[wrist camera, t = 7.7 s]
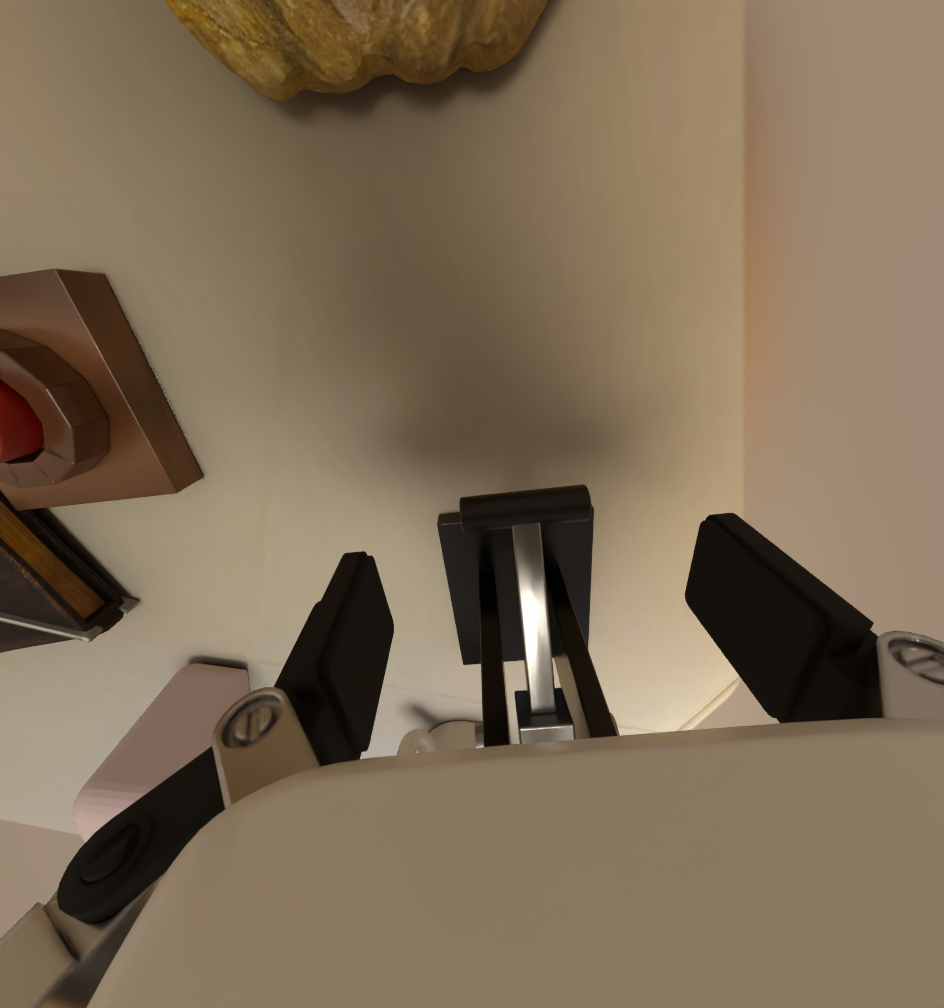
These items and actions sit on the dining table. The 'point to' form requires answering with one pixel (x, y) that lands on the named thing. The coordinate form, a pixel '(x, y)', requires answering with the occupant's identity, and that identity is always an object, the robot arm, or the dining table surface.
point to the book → (48, 587)
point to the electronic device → (159, 742)
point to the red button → (17, 425)
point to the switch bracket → (496, 619)
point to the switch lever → (532, 594)
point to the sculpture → (355, 39)
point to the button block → (84, 397)
